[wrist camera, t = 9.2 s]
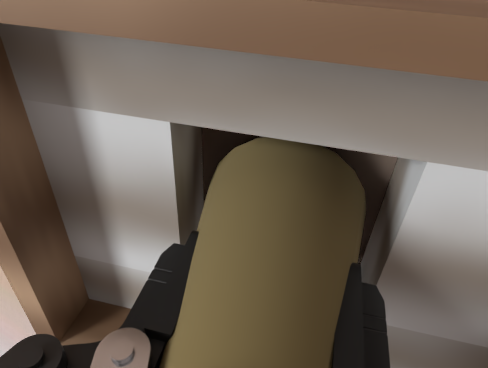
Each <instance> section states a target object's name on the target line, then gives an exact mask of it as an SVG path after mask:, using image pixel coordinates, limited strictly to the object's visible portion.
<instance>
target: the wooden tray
mask: <svg viewBox="0 0 488 368" xmlns="http://www.w3.org/2000/svg"><path fill="white" fill-rule="evenodd" d="M202 127H204V128H211V129H217V130H224V131H230V132H237V133H243V134H250V135H256V136H263V137H269V138H276V139H282V140H288V141H295V142H301V143H308V144H314V145H321V146H327V147H334V148H340V149H347V150H353V151H360V152H366V153H373V154H379V155H386V156H392V157H398V159H397V162H396V165H395V168H394V171H393V174H392V176H391V179H390V182H389V185H388V188H387V191H386V193H385V196H384V199H383V202H382V205H381V208H380V210H379V213H378V216H377V219H376V222H375V225H374V227H373V230H372V233H371V236H370V239H369V242H368V244H367V247H366V250H365V253H364V256H363V259H362V261H361V274H362V282H363V283H368V284H373V285H376V286H377V288H378V290H379V292H380V294H381V295H382V297H383V299H384V301H385V312H386V323H387V335H388V346H389V357H390V368H488V0H0V266H1V268H2V270H3V271H4V273H5V275H6V277H7V279H8V281H9V283H10V285H11V287H12V289H13V290H14V292H15V294H16V296H17V298H18V300H19V302H20V304H21V306H22V308H23V309H24V311H25V313H26V315H27V317H28V319H29V321H30V323H31V325H32V327H33V328H34V330H35V332H36V334H50V335H53V336H55V337H56V338H57V339H58V340H59V341H60V343H61V345H73V344H84V343H93V342H97V341H101V340H103V339H104V338H105V337H106V336H107V335H108V334H110V333H111V332H113V331H115V330H118V329H119V328H120V327H121V325H122V324H123V323H124V321H125V319H126V317H127V316H128V314H129V312H130V310H131V308H132V307H133V305H134V303H135V301H136V299H137V297H138V296H139V294H140V292H141V290H142V288H143V286H144V285H145V283H146V281H148V277H149V276H150V274H151V272H152V270H154V266H155V265H156V263H157V261H158V259H159V257H160V255H161V254H162V253H163V252H164V251H165V250H166V249H168V248H169V247H170V246H171V245H172V244H174V243H176V244H181V245H185V244H186V242H187V240H188V238H189V236H190V234H191V232H192V231H193V230H195V231H197V228H198V224H199V221H200V217H201V214H202V210H203V207H204V199H203V160H202ZM358 264H359V263H358Z"/></svg>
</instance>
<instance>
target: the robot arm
mask: <svg viewBox="0 0 488 368" xmlns="http://www.w3.org/2000/svg"><path fill="white" fill-rule="evenodd" d="M198 235H199V231H195V230H193V231H192V232H191V234H190V236H189V238H188V240H187V242H186V244H185V245H181V244H176V243H174V244H172V245H171V246H170V247H169V248H168V249H166V250H165V251H164V252H163V253H162V254H161V255H160V257H159V259H158V261H157V263H156V265H155V266H154V270H152V272H151V274H150V276H149V277H148V281H146V283H145V285H144V286H143V288H142V290H141V292H140V294H139V296H138V297H137V299H136V301H135V303H134V305H133V307H132V308H131V310H130V312H129V314H128V316H127V317H126V319H125V321H124V323H123V324H122V325H121V327H120V328H119V329H118V330H115V331H113V332H111V333H110V334H108V335H107V336H106V337H105V338H104V339H103V340H101V341H97V342H93V343H84V344H73V345H61V343H60V341H59V340H58V339H57V338H56V337H55V336H53V335H50V334H36V335H33V336H30V337H27V338H25V339H23V340H22V341H20V342H19V343H17V344H16V345H15V346H13V347H12V348H11V349H10V350H9V351H7V352H6V353H5V354H4V355H2V356H1V357H0V368H159V365H160V362H161V359H162V356H163V353H164V349H165V346H166V344H167V342H168V341H169V339H170V338H171V337H172V334H173V332H174V329H175V326H176V323H177V320H178V318H179V314H180V310H181V306H182V301H183V297H184V292H185V288H186V283H187V279H188V275H189V270H190V266H191V261H192V257H193V253H194V250H195V246H196V242H197V238H198ZM332 368H390V357H389V346H388V335H387V323H386V312H385V301H384V299H383V297H382V295H381V294H380V292H379V290H378V288H377V286H376V285H373V284H368V283H363V282H362V274H361V264H358V263H352V264H351V265H350V269H349V273H348V278H347V282H346V286H345V291H344V295H343V299H342V303H341V308H340V312H339V316H338V321H337V325H336V329H335V334H334V347H333V359H332Z"/></svg>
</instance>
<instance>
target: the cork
mask: <svg viewBox="0 0 488 368" xmlns="http://www.w3.org/2000/svg"><path fill="white" fill-rule="evenodd" d="M365 215H366V202H365V190H364V188H363V186H362V184H361V182H360V180H359V178H358V176H357V174H356V172H355V171H354V170H353V169H352V168H351V167H350V166H349V165H348V164H347V163H346V162H345V161H344V160H343V159H342V158H341V157H340V156H339V155H338V154H337V153H335V152H333V151H331V150H329V149H327V148H325V147H323V146H321V145H314V144H308V143H301V142H295V141H288V140H282V139H276V138H269V137H265V138H256V139H254V140H252V141H249V142H247V143H244V144H242V145H240V146H237V147H235V148H234V149H233V150H232V151H230V152H229V153H228V154H227V155H226V156H225V157H224V158H223V159H222V160H221V161H220V162H219V163H218V166H217V168H216V170H215V172H214V174H213V176H212V179H211V182H210V185H209V189H208V192H207V196H206V199H205V203H204V207H203V210H202V214H201V217H200V221H199V224H198V228H197V231H199V235H198V238H197V242H196V246H195V250H194V253H193V257H192V261H191V266H190V270H189V275H188V279H187V283H186V288H185V292H184V297H183V301H182V306H181V310H180V314H179V318H178V320H177V323H176V326H175V329H174V332H173V334H172V337H171V338H170V339H169V341H168V342H167V344H166V346H165V349H164V353H163V356H162V359H161V362H160V365H159V368H332V359H333V347H334V334H335V329H336V325H337V321H338V316H339V312H340V308H341V303H342V299H343V295H344V291H345V286H346V282H347V278H348V273H349V269H350V265H351V264H352V263H358V257H359V251H360V245H361V239H362V233H363V227H364V221H365Z"/></svg>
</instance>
